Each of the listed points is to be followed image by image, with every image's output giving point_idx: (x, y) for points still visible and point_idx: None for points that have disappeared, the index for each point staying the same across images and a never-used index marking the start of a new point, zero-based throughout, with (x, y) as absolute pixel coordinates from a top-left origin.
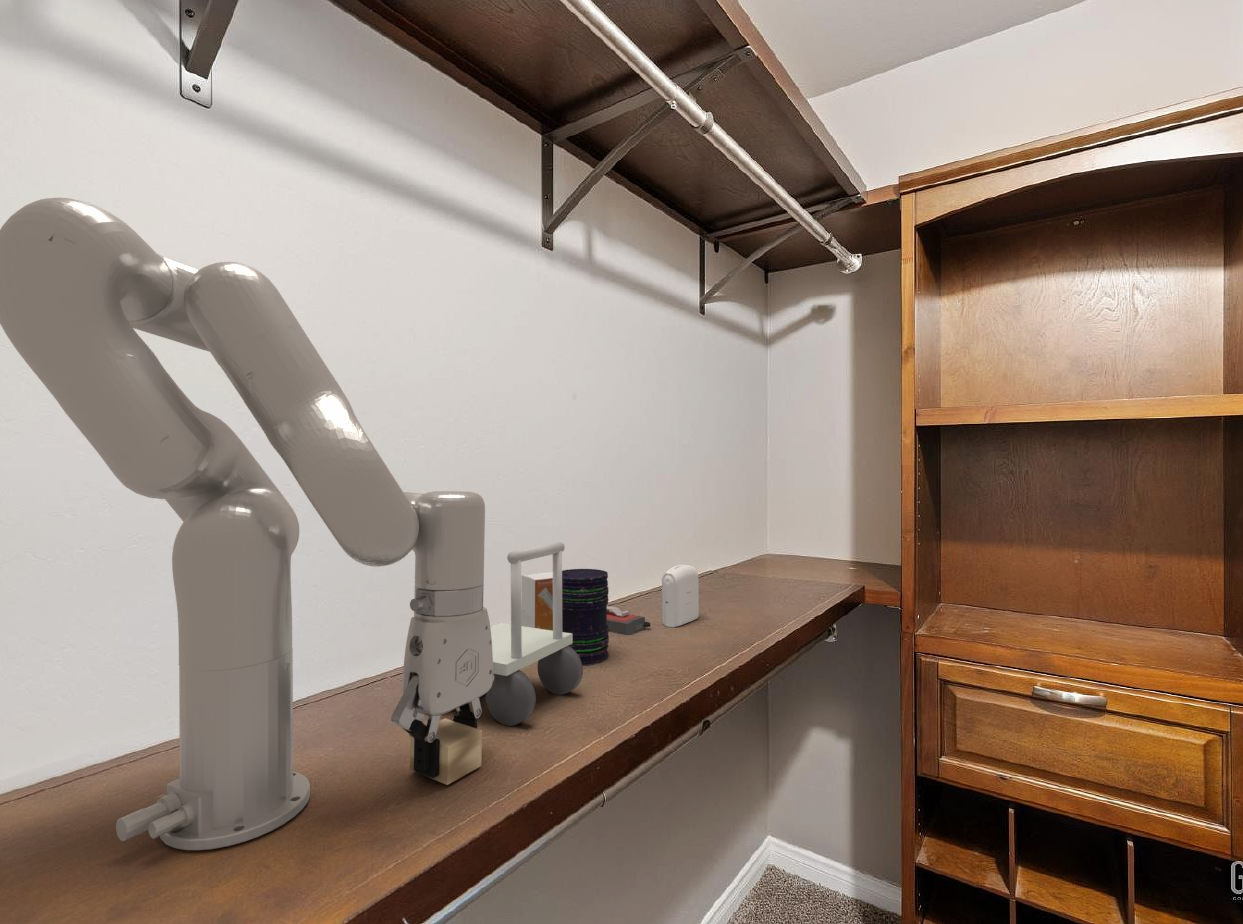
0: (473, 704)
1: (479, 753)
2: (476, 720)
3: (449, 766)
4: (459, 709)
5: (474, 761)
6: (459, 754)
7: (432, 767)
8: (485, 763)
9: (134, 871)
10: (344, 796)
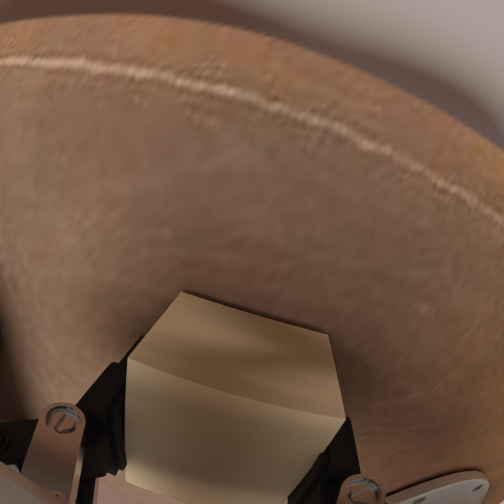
0: (66, 467)
1: (176, 314)
2: (91, 405)
3: (325, 365)
4: (96, 479)
5: (205, 314)
6: (277, 368)
7: None
8: (151, 290)
9: (493, 490)
10: (375, 473)
